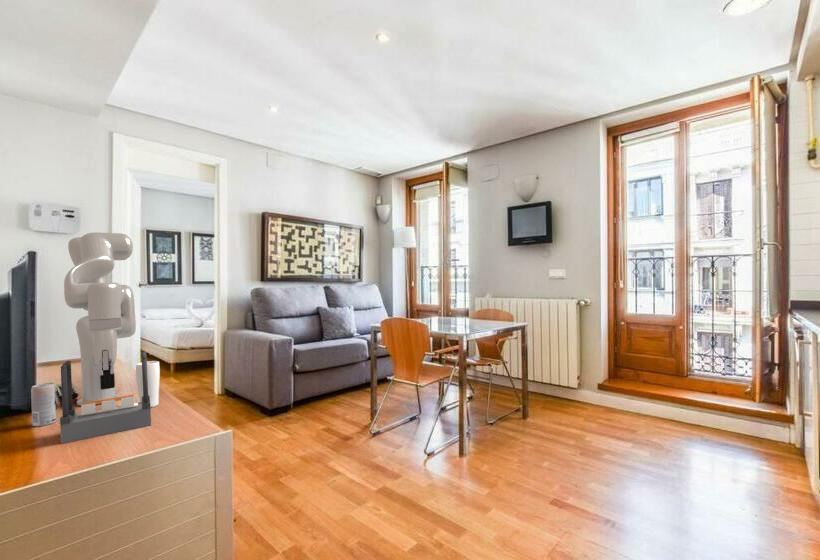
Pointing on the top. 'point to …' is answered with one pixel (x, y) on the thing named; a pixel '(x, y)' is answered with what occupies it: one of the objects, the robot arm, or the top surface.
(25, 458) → the top surface
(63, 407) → the dark gray upright panel
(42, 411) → the energy drink
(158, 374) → the white cylinder
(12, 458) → the top surface
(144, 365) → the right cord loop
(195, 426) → the top surface
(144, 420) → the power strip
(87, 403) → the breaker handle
